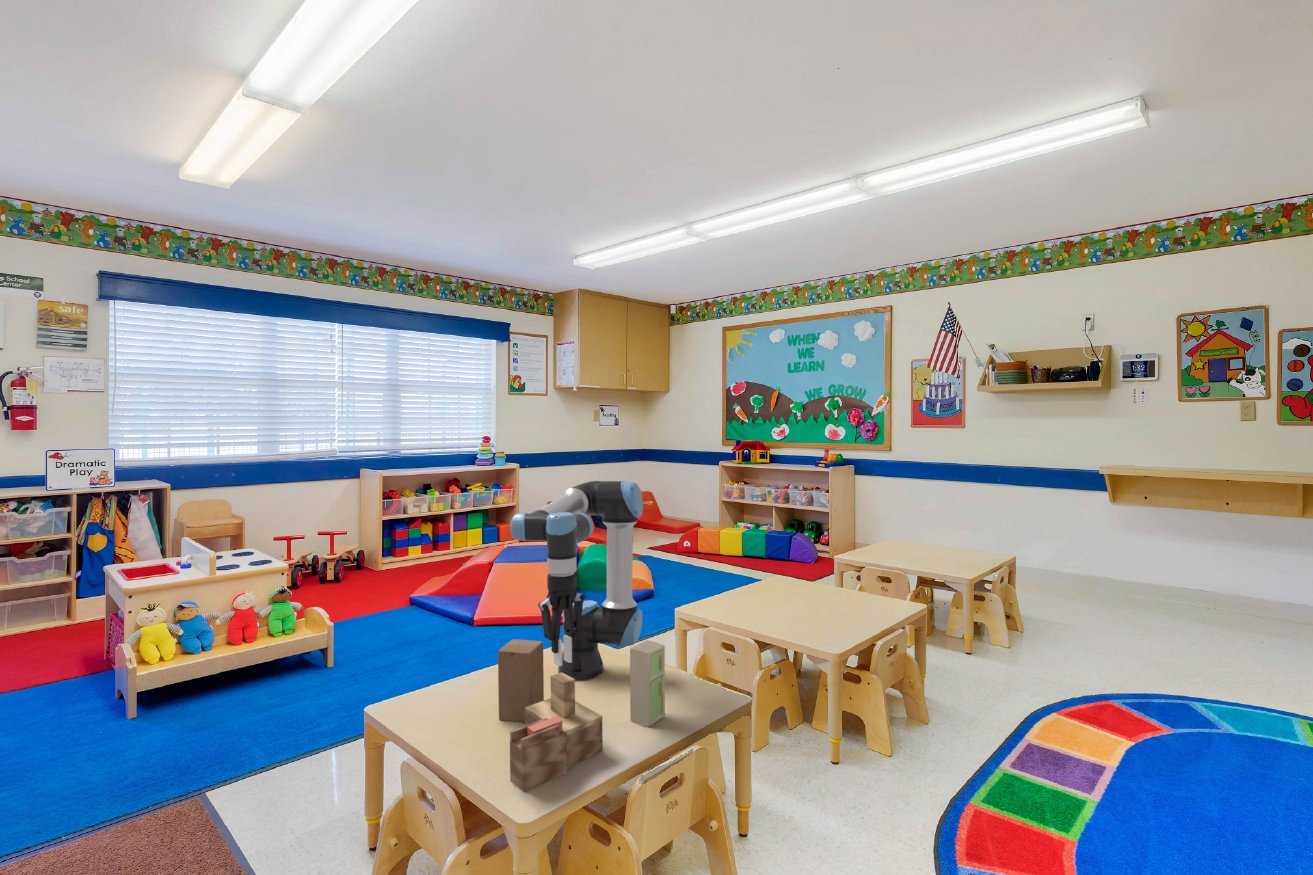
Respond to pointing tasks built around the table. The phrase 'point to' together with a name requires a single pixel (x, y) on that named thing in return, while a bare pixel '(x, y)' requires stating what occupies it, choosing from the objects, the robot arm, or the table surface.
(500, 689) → the wooden block
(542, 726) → the pink rectangular block
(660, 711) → the toy refrigerator
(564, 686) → the lid
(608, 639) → the robot arm
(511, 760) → the brown wooden open box
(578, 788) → the table surface
